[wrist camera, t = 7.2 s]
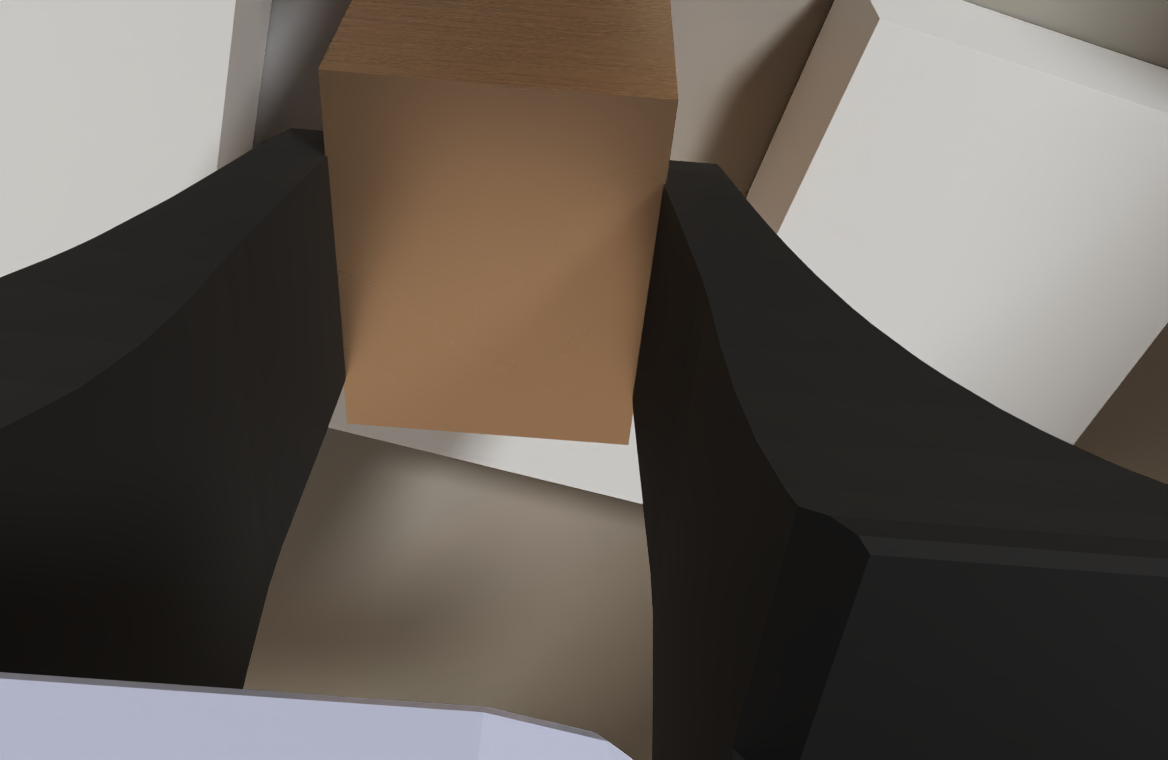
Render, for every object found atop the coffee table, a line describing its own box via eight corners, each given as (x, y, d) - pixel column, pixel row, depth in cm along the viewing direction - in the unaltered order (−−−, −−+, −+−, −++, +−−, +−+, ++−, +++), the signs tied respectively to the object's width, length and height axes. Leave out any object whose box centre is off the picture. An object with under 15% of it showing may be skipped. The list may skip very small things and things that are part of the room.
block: (662, -92, 13) (677, 99, 9) (627, 201, 16) (627, 445, 12) (408, -116, 13) (318, 68, 9) (415, 182, 16) (346, 423, 12)
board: (1224, 88, 15) (1296, 156, 13) (938, 497, 20) (966, 582, 18) (-11, -326, 12) (-103, -305, 11) (2, 257, 17) (-62, 332, 16)
